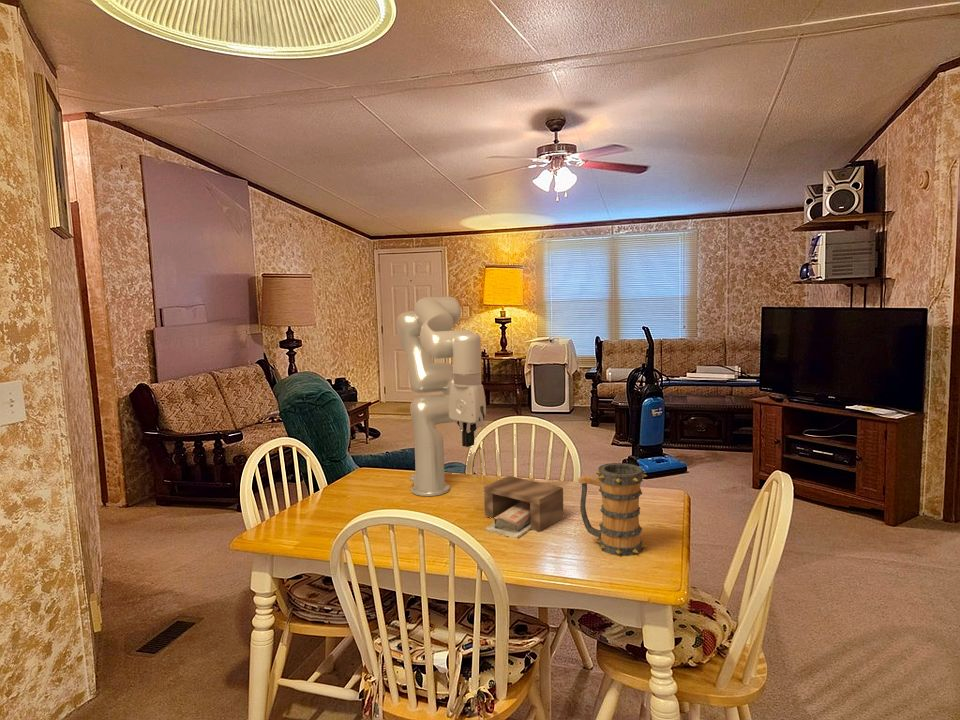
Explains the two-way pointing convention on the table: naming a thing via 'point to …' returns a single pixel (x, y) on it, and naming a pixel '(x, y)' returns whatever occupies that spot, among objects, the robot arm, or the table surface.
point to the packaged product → (512, 521)
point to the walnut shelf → (513, 490)
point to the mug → (616, 508)
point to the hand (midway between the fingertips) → (468, 445)
